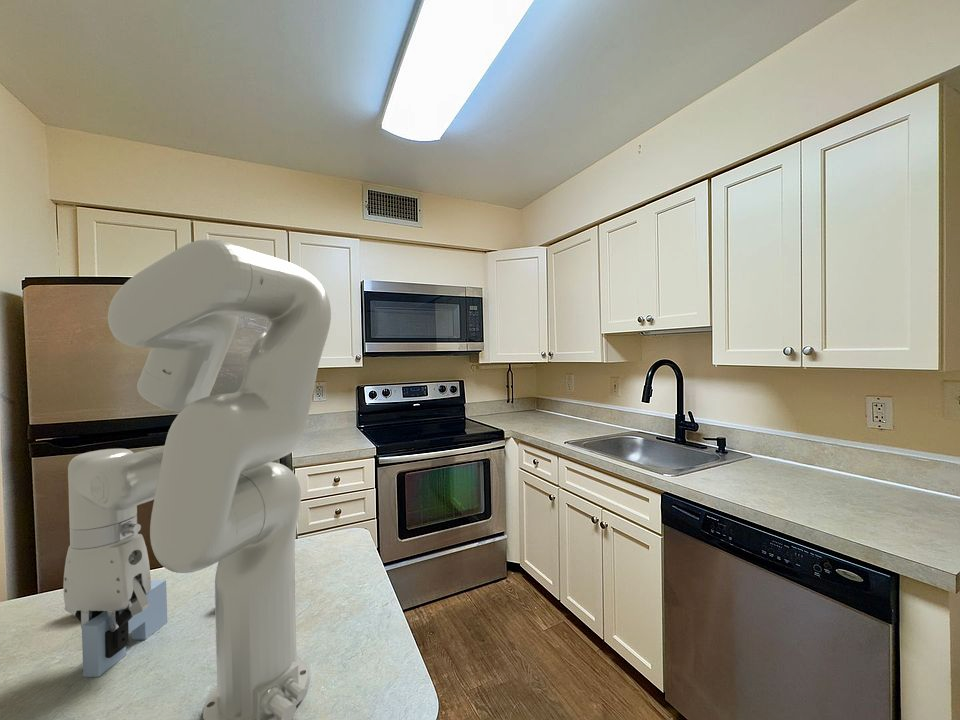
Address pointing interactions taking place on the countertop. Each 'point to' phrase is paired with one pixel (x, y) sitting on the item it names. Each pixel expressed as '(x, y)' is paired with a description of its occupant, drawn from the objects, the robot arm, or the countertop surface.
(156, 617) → the blue slot plate
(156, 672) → the countertop surface
